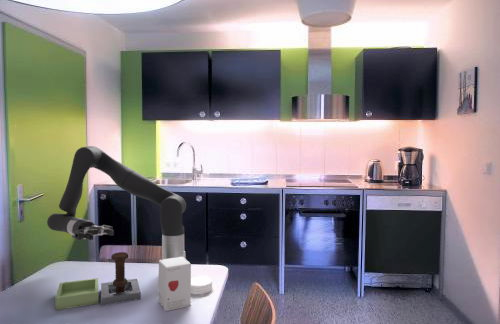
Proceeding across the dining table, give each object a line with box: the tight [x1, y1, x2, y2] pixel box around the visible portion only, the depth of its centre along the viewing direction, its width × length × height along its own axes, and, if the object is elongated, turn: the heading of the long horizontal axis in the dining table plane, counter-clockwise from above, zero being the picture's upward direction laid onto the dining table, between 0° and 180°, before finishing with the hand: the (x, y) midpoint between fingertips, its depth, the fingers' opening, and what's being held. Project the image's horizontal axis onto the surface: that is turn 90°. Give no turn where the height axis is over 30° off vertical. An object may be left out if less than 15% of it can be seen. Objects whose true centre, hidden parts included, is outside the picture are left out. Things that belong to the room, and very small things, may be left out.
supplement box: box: [158, 257, 192, 312], centre depth 123 cm, size 9×9×15 cm
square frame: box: [100, 278, 142, 306], centre depth 131 cm, size 13×14×2 cm
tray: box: [54, 277, 99, 311], centre depth 127 cm, size 13×14×4 cm
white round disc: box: [191, 275, 213, 296], centre depth 136 cm, size 10×10×4 cm
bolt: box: [111, 251, 129, 293], centre depth 131 cm, size 6×5×15 cm
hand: (103, 235), depth 137 cm, fingers open, 8 cm apart
